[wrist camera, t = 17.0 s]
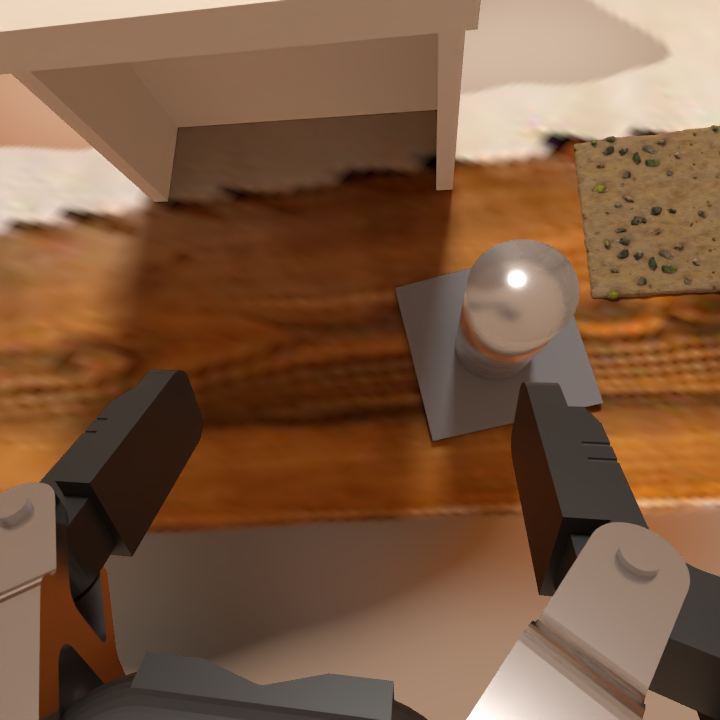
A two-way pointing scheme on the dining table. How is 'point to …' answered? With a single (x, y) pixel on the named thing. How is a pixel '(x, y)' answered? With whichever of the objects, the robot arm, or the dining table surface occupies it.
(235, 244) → the dining table surface
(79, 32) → the white c-shaped side table
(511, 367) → the pale cylinder
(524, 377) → the rubber mat
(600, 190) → the cookie
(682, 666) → the robot arm
